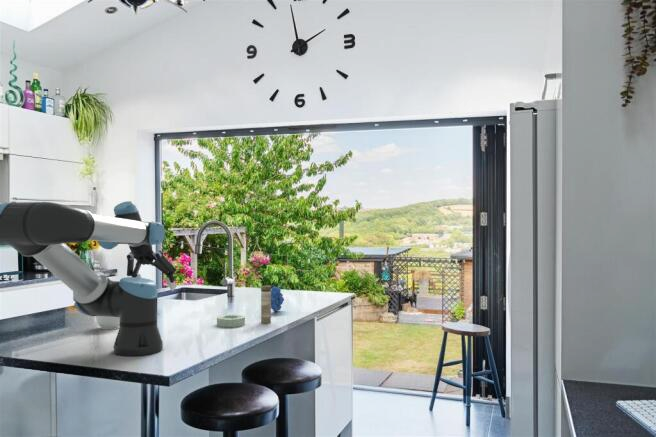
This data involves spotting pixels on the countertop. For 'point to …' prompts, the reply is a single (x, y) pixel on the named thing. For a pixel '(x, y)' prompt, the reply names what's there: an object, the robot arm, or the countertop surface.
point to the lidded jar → (108, 322)
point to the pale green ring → (231, 320)
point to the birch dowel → (265, 304)
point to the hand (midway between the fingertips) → (158, 289)
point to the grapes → (276, 299)
